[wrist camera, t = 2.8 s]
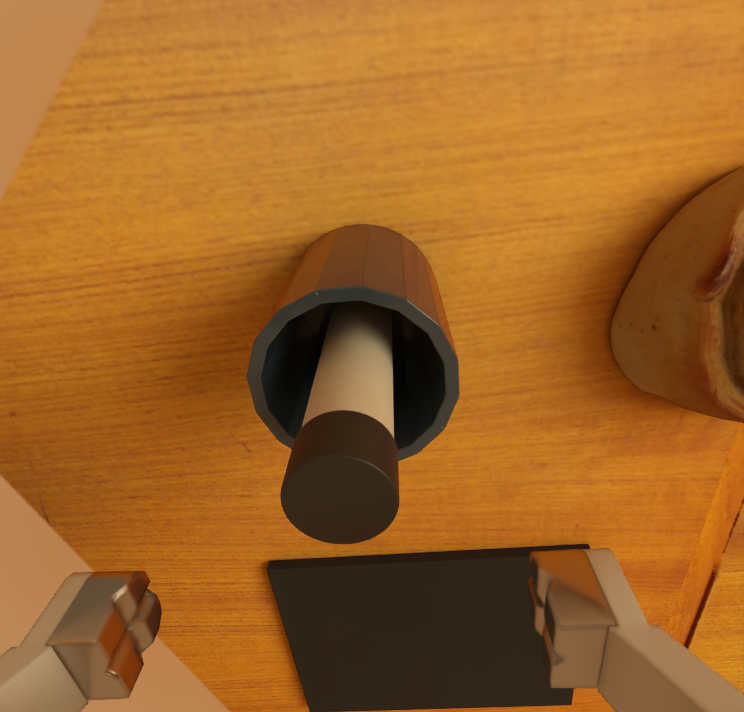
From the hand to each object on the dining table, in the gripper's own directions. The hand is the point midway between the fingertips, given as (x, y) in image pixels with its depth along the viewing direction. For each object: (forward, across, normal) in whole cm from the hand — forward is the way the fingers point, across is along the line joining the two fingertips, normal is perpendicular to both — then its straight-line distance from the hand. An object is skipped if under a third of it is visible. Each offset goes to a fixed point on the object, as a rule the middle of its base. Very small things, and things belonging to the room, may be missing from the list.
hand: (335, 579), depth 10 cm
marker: (+16, 0, 0) cm, 16 cm away
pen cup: (+17, 0, 0) cm, 17 cm away
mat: (+17, -2, +28) cm, 33 cm away
